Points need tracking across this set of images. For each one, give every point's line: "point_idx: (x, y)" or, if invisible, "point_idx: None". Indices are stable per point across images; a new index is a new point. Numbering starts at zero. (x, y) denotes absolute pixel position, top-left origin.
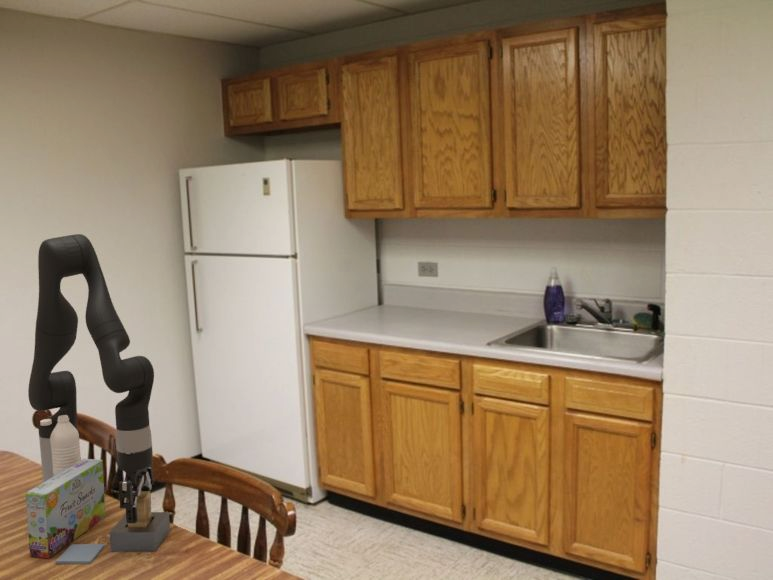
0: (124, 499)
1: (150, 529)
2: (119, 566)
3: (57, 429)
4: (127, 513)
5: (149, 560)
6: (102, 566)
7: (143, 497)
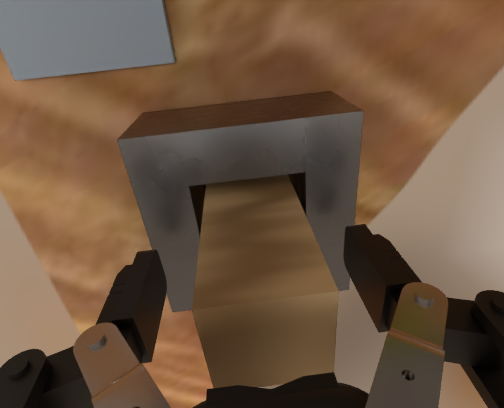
0: (86, 378)
1: (192, 292)
2: (57, 201)
3: None
4: (107, 310)
5: None
6: (29, 141)
7: (233, 385)
